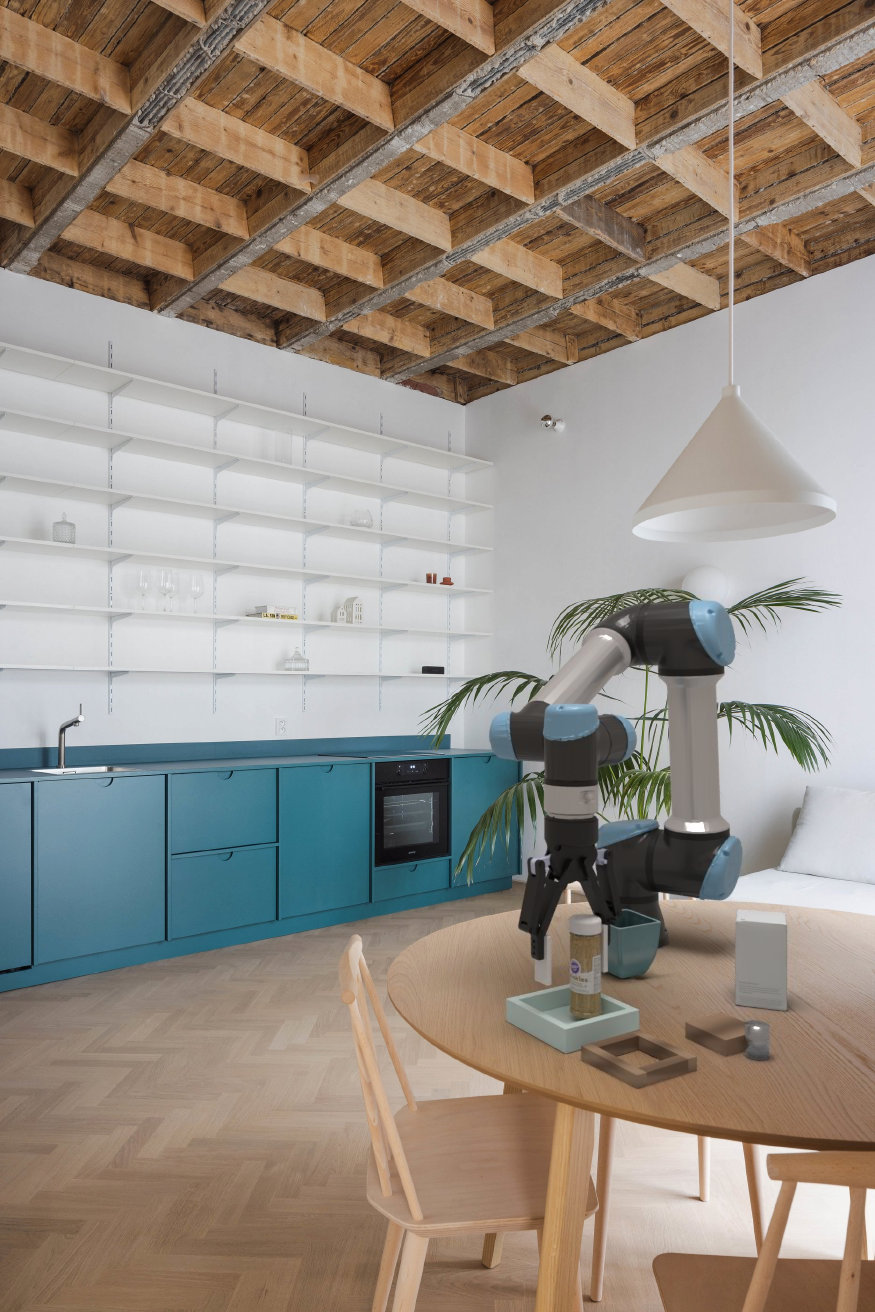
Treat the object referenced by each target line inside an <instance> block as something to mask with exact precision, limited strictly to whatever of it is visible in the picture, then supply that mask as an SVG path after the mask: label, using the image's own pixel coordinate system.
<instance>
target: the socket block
mask: <svg viewBox="0 0 875 1312" xmlns="http://www.w3.org/2000/svg"><path fill="white" fill-rule="evenodd" d="M637 1050H639V1051H642V1052H643V1053H645V1054H647V1055H649V1056H651V1057H652V1058H655V1059H657V1060H658V1061H655V1062H652V1063H649V1064H645V1065H642V1066H639V1067H637V1066H635V1065H634V1064H631V1063H629V1062H627V1061H625V1060H624V1059H621V1058H620V1057H618V1056H622V1055H625V1054H627V1053H628V1054H629V1053H631V1052H635V1051H637ZM580 1052H581V1054H580V1058H581V1059H580V1060H581V1061H583V1062H584V1063H586V1064H587V1065H590V1066H593V1068H596V1069H598V1070H600V1071H601V1072H604V1073H606V1074H607V1075H608V1076H609V1075H610V1076H612V1077H613V1078H615V1079H617V1080H619V1081H621V1082H623V1083H625V1084H627V1085H629V1086H631V1087H633V1088H635V1089H641V1088H645V1087H648V1086H651V1085H654V1084H657V1083H661V1082H663V1081H664V1082H665V1081H667V1080H671V1079H674V1078H677V1077H681V1076H683V1075H686V1074H689V1073H694V1072H697V1070H698V1067H697V1066H698V1065H697V1064H698V1057H697V1056H696V1055H694V1054H692V1053H690V1052H688V1051H686V1050H683V1049H681V1048H679V1047H677V1046H675V1045H673V1044H671V1043H669V1042H666V1041H664V1040H663V1039H660V1038H658V1037H656V1036H654V1035H652V1034H649V1033H648V1032H645V1031H643V1030H641V1029H639V1030H635V1031H631V1032H628V1033H624V1034H621V1035H617V1036H614V1037H610V1038H607V1039H603V1040H599V1041H596V1042H592V1043H589V1044H585V1045H582V1046H581V1049H580Z"/></svg>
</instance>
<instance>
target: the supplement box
mask: <svg viewBox="0 0 875 1312" xmlns="http://www.w3.org/2000/svg"><path fill="white" fill-rule="evenodd" d="M734 932H735V933H734V934H735V937H734V939H735V940H734V941H735V942H734V943H735V944H734V949H735V950H734V951H735V952H734V954H735V955H734V956H735V958H734V959H735V961H734V963H735V965H734V968H735V972H734V973H735V974H734V982H735V985H734V987H735V988H734V991H735V992H734V996H735V997H734V1000H735V1005H737V1006H743V1007H749V1008H750V1007H751V1008H758V1009H764V1010H774V1011H782V1012H783V1011H784V1012H787V1010H788V921H787V915H786V913H785V912H780V911H778V912H777V911H776V912H775V911H765V910H764V911H763V910H752V909H751V910H750V909H736V915H735V930H734Z"/></svg>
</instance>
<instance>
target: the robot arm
mask: <svg viewBox="0 0 875 1312" xmlns="http://www.w3.org/2000/svg"><path fill="white" fill-rule="evenodd" d="M732 622H733V621H732V619H731V617H730V614H729V613H728V611H727V609H726V608H725V606H724V605H723V604H721V603H720V602H718V601H715V600H701V599H700V600H698V599H693V600H680V601H664V602H663V601H662V602H641V603H636V604H632V605H629V606H627V607H624V608H622V609H619V610H617V611H616V612H613V613H612V614H610V615H608V616H606V617H605V618H604V619H602V620H601V621H600V622H598V623H597V624H595V625H594V626H593V628H591V629H590V630H589V632H587V634H585V635H584V637H583V639H582V641H581V648H579V650H578V651H576V652H575V653H574V655H573V656H572V657H571V658H570V659H569V660H568V661H566V663H565V664H564V665H563V666H562V667H561V668H559V670H558V671H557V672H556V673H555V674H554V675H553V676H552V678H550V680H548V682H547V683H546V684H545V685H544V686H542V687H541V689H540V690H538V692H537V693H536V694H535V695H534V696H533V697H532V698H531V699H530V700H529V701H528V702H527V703H526V704H525V706H523V707H522V708H521V709H520V710H519V711H517V712H514V711H509V712H500V713H498V714H497V715H495V716H494V718H493V719H492V721H491V723H490V726H489V730H488V731H489V732H488V741H489V743H490V748H491V750H492V752H493V754H494V756H496V757H497V758H500V759H503V760H512V761H516V762H539V763H543V764H544V765H543V766H544V783H543V810H544V811H545V813H547V814H546V815H545V817H543V818H544V819H543V822H544V823H543V825H544V826H543V827H544V828H543V834H544V835H543V836H544V837H543V839H544V841H545V843H546V851H545V854H544V856H542V857H537V858H536V857H528V858H527V859H526V864H527V866H526V867H527V878H526V883H525V890H524V894H523V898H522V905H521V908H520V913H519V914H520V915H519V920H518V924H517V927H518V929H519V930H520V931H521V932H524V933H527V934H530V956H531V958H532V959H533V960H534V981H535V982H538V983H540V984H543V985H544V986H552V936H551V935H549V934H547V933H548V930H549V928H550V925H551V922H552V920H553V917H554V915H555V912H556V909H557V907H558V906H559V905H558V904H559V902H560V900H561V896H562V895H563V892H564V891H566V890H567V888H568V885H569V884H573V883H575V882H578V883H579V884H580V886H581V889H582V891H583V893H584V896H585V898H586V900H587V902H588V905H589V906H590V909H591V911H592V915H593V914H594V915H595V916H598V917H599V918H600V919H601V935H600V952H601V973H604V974H605V973H609V972H608V946H609V945H610V942H611V938H610V937H611V935H610V934H611V933H610V925H615V924H616V921H617V920H616V917H618V918H619V917H621V915H622V910H623V909H628V910H632V911H634V912H637V913H639V914H642V915H645V916H647V917H650V918H653V919H656V920H658V921H660V922H661V925H660V933H659V941H658V948H657V950H658V949H662V948H664V947H666V946H667V945H668V944H669V930H668V929H667V927H666V926H665V925H666V924H665V919H664V917H663V913H662V909H661V907H660V901H659V900H660V897H659V893H661V894H668V895H674V896H681V897H688V898H693V899H699V900H700V901H705V900H707V901H710V900H711V901H718V902H719V901H720V902H721V901H724V900H727V899H728V898H729V897H730V896H731V895H732V894H733V892H734V890H735V888H736V886H737V883H738V880H739V878H740V874H741V869H742V865H743V864H742V863H743V845H742V842H741V840H740V838H739V837H736V836H735V835H731V831H730V830H731V826H730V825H731V824H730V823H729V822H728V821H727V820H726V819H725V818H724V817H723V816H722V814H721V792H720V791H721V789H720V786H721V785H720V764H719V763H720V762H719V735H718V734H719V733H718V731H719V730H718V706H717V705H718V702H717V699H718V698H717V684H718V682H719V681H720V680H721V679H722V678H723V677H724V676H725V673H726V671H725V667H727V666H728V665H729V666H730V665H731V664H732V663H733V661H734V660H735V656H736V652H735V651H736V646H737V645H736V635H735V631H734V626H733V623H732ZM637 666H655V667H656V666H657V675H658V676H657V677H658V678H659V679H660V680H661V681H662V682H663V683H664V684H665V685H666V691H667V693H666V695H667V716H668V717H667V718H668V719H667V720H668V745H669V747H668V749H669V770H670V771H669V775H670V778H669V779H670V797H671V798H670V800H671V805H670V806H671V814H670V816H669V817H668V818H667V819H666V820H665V821H664V822H663V828H660V823H659V821H658V820H657V819H652V818H636V819H624V820H623V819H622V820H617V821H609V822H606V823H604V824H602V825H600V826H599V818H598V817H597V815H596V814H597V813H598V812H599V768H601V767H607V766H611V767H612V766H616V765H619V764H620V763H622V762H624V761H626V760H628V759H629V758H630V757H631V756H632V755H633V754H634V752H635V750H636V748H637V743H638V738H637V737H638V736H637V731H636V730H635V727H634V725H633V724H632V723H631V721H630V720H629V719H627V717H623V716H622V715H619V714H613V713H610V714H609V713H603V714H598V713H599V712H598V711H599V710H598V708H597V707H596V706H595V705H594V704H591V702H592V701H593V699H595V697H597V695H598V693H600V691H601V690H602V689H603V688H604V687H605V685H606V684H608V682H609V681H610V680H612V678H613V677H614V676H619V675H620V674H623V673H624V672H625V671H626V670H628V668H631V667H637ZM594 866H595V869H594ZM595 870H596V871H595Z"/></svg>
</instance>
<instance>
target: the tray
mask: <svg viewBox="0 0 875 1312" xmlns="http://www.w3.org/2000/svg"><path fill="white" fill-rule="evenodd" d="M569 1008H570V983H568V984H567V983H566V984H563V985H560V986H558V985H557V986H554V987H550V988H546V989H541V990H538V991H534V992H530V993H528V992H527V993H525V994H520V995H515V996H511V997H508V998H507V997H506V998H505V1021H506V1022H508V1023H509V1024H512V1025H513V1026H515V1027H517V1028H518V1029H521V1031H524V1032H526V1034H527V1033H528V1034H529V1035H531V1036H533V1037H535V1038H537V1039H538V1040H540V1041H542V1042H544V1043H546V1044H547V1045H549V1046H551V1047H553V1048H554V1049H556V1050H558V1051H560V1052H562V1053H563V1054H566V1055H567V1054H569V1053H573V1052H576V1051H579V1050H580V1051H581V1046H582V1045H585V1044H589V1043H592V1042H596V1041H599V1040H603V1039H607V1038H610V1037H614V1036H617V1035H621V1034H624V1033H628V1032H631V1031H635V1030H640V1009H638V1008H636V1007H633V1006H631V1005H629V1004H627V1003H626V1002H625V1003H624V1002H623V1001H620V1000H618V999H615V998H613V997H611V996H609V995H607V994H605V993H602V992H601V1010H602V1013H601V1014H600V1015H599V1016H596V1017H593V1018H581V1017H577V1016H575V1015H573V1014H572V1013H571V1012H570V1010H569Z"/></svg>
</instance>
